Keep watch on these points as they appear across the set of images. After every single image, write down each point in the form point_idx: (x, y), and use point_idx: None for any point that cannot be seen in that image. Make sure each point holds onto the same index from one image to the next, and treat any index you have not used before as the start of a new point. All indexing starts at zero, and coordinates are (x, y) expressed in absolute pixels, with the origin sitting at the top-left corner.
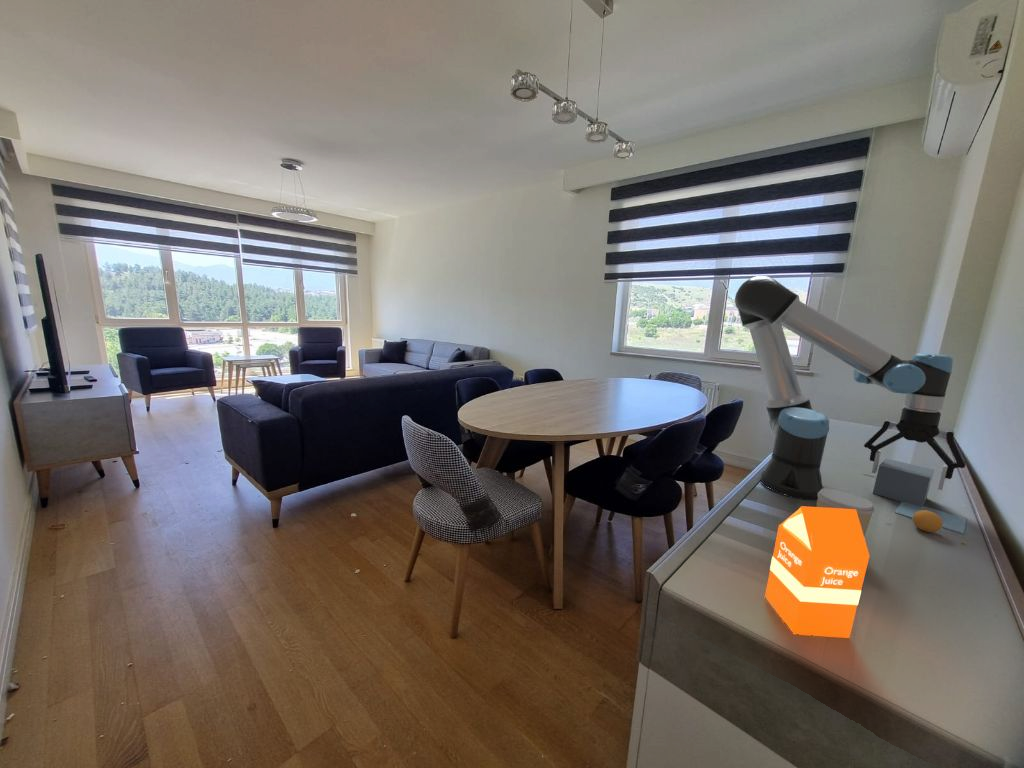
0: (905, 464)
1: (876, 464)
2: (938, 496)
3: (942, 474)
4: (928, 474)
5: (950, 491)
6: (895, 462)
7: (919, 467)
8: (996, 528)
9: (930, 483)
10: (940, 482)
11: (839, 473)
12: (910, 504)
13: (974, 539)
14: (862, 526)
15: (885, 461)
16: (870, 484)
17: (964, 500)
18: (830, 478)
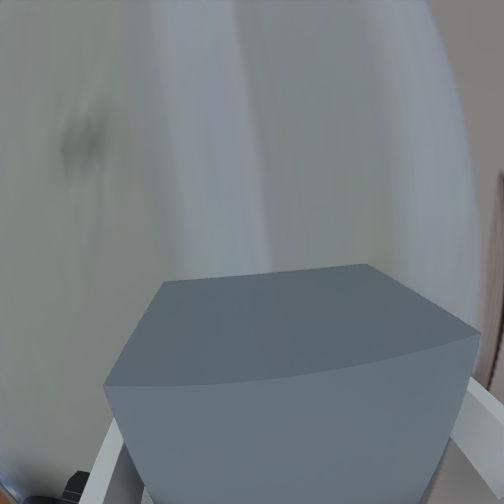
0: (294, 434)
1: (138, 496)
2: (397, 165)
3: (478, 465)
4: (417, 486)
5: (404, 24)
6: (215, 453)
7: (396, 399)
8: (496, 358)
9: (412, 291)
10: (452, 434)
11: (8, 284)
12: None
13: None
14: None
15: (159, 486)
16: (137, 323)
17: (459, 117)
18: (39, 400)
